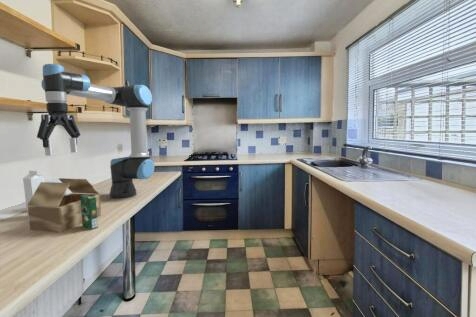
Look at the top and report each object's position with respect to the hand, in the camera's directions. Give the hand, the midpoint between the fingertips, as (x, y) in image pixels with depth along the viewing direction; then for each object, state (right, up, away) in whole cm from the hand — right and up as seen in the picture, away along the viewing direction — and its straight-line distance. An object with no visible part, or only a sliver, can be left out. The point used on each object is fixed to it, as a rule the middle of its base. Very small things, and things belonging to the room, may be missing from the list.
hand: (62, 153), depth 123 cm
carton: (+1, -30, +4) cm, 30 cm away
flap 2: (+2, -15, +9) cm, 18 cm away
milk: (-20, -30, +13) cm, 38 cm away
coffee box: (+14, -31, -4) cm, 34 cm away
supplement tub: (-20, -28, +28) cm, 44 cm away
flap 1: (-2, -17, -5) cm, 18 cm away
